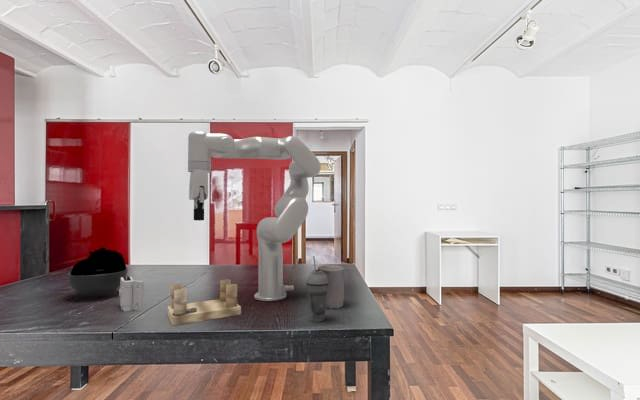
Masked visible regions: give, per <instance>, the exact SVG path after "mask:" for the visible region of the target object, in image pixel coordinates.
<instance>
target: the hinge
mask: <svg viewBox="0 0 640 400" xmlns="http://www.w3.org/2000/svg"><path fill="white" fill-rule="evenodd" d="M144 285H145V284H144V280H134V278H133V277H132V276H128V275H126V278H125V277H121V279H120V286H119V289H118V297H119V306H120V309H121V311H123V312H131V311H140V312H142V311H144V291H145V290H144Z"/></svg>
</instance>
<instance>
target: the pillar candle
mask: <svg viewBox="0 0 640 400" xmlns="http://www.w3.org/2000/svg"><path fill="white" fill-rule="evenodd" d="M344 269H345V267H343V266H340V265H333V264H331V263H330V264H326V265H320V266H318V267H317V270H321V271H323V272H324V273H325V274H326V275H327V278H328V282H329V284H328V289H327V296H326V308H329V309H328V310H334V309H333V308H337V309H340V307H341V308H343V307H342V306H344V294H345V293H344V290H345V289H344V288H345V286H344V282H345V281H344V278H345V277H344V276H345V275H344V274H345V270H344Z"/></svg>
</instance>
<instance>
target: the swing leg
mask: <svg viewBox="0 0 640 400" xmlns="http://www.w3.org/2000/svg"><path fill="white" fill-rule="evenodd" d="M187 291H188V289H187V288H183V289H177V290H174V314H175V315H182V314H185V313H190V312H195V311H197V308H191V309H187V300H188V297H187V296H188V295H187V294H188V292H187Z"/></svg>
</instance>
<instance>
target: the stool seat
mask: <svg viewBox="0 0 640 400" xmlns="http://www.w3.org/2000/svg"><path fill="white" fill-rule="evenodd" d="M231 281H232V280H231V279H228V278H226V279H220V281H219V299H217V298H216V299H210V300H205V301H195V302H189V303H187V309H191V308H197V311H195V312H190V313H185V314H182V315H175V314H174V290H177V289H184V286H183V284H173V285H171V286H170V305H168V306H167V317H168V319H169V321H170V323H171V326H179V325H184V324H185V325H186V324H190V323H198V322H202V321H209V320H214V319H221V318H228V317H233V316H240V315H242V306H241V305H240V304H238V284H237V283H231Z"/></svg>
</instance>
